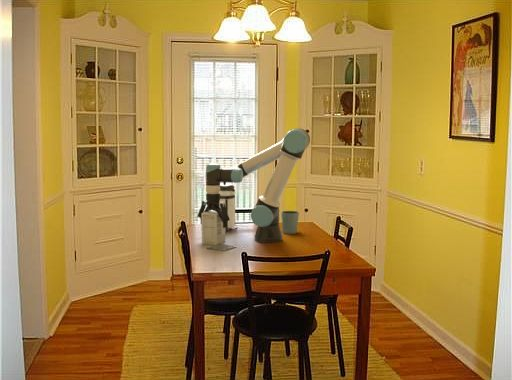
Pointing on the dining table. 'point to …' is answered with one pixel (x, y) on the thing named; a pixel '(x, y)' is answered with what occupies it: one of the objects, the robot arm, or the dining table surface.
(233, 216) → the coffee press
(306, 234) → the dining table surface
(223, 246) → the trivet
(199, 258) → the dining table surface
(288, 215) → the drinking glass
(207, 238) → the supplement box
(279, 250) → the dining table surface
